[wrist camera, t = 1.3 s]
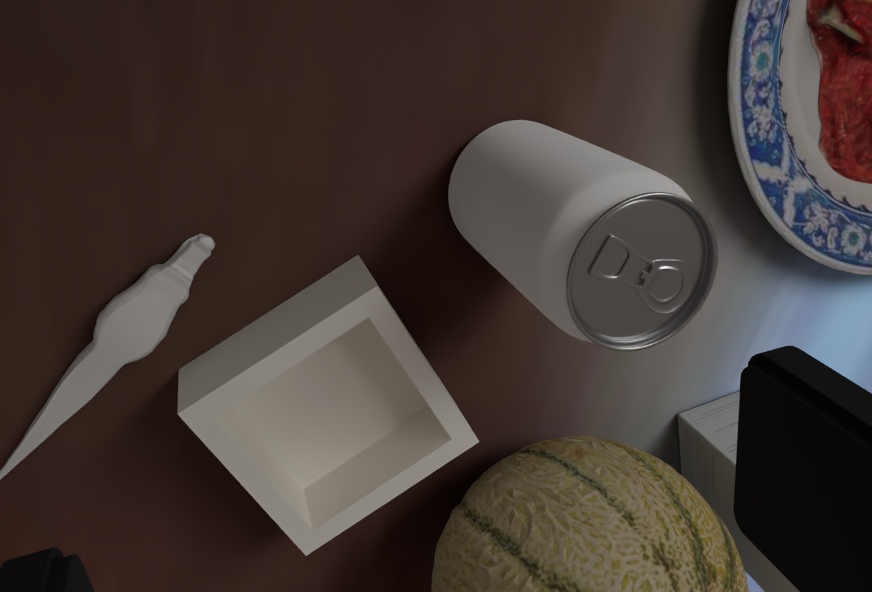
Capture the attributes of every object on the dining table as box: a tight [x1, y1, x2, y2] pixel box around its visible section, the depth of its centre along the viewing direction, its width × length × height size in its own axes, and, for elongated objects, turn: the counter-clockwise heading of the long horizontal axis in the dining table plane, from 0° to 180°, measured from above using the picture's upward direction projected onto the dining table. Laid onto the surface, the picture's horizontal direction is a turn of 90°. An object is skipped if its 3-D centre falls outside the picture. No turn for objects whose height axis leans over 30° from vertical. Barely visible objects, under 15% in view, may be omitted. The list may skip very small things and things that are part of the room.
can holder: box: [177, 255, 479, 556], centre depth 35 cm, size 10×10×4 cm
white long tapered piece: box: [0, 233, 215, 479], centre depth 33 cm, size 15×3×2 cm, turn 136°
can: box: [448, 120, 718, 351], centre depth 31 cm, size 6×6×12 cm
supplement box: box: [678, 391, 800, 592], centre depth 41 cm, size 7×7×13 cm
